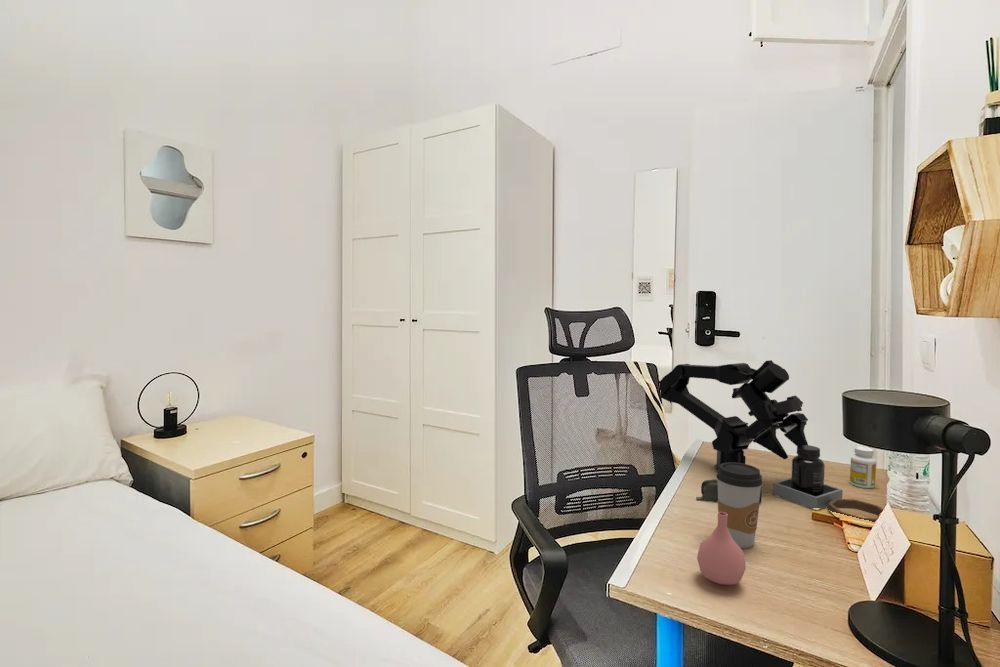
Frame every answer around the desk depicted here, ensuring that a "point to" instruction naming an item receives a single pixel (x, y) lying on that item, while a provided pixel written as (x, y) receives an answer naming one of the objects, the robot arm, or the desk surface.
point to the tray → (805, 499)
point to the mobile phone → (713, 491)
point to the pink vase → (721, 555)
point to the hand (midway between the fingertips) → (797, 455)
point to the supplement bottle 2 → (863, 468)
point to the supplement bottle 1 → (808, 471)
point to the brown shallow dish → (854, 504)
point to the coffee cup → (739, 500)
